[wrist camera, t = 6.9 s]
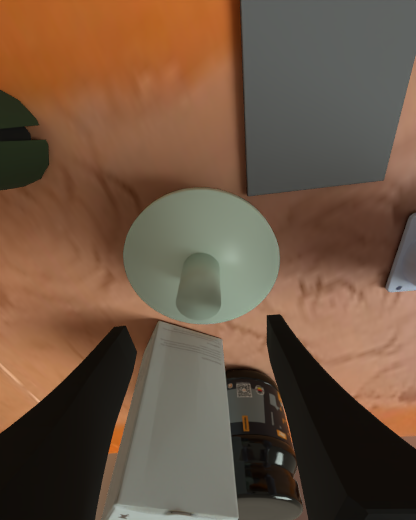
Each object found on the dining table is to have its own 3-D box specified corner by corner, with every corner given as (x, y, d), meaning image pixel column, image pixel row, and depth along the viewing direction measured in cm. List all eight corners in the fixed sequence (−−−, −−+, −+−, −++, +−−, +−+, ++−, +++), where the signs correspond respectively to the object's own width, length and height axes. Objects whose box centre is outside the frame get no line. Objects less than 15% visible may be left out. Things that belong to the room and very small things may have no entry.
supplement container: (264, 412, 35) (285, 531, 25) (196, 403, 34) (189, 523, 24) (289, 371, 30) (330, 501, 20) (210, 359, 29) (209, 489, 19)
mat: (438, -69, 12) (449, -78, 11) (378, 178, 18) (383, 180, 17) (238, -30, 12) (240, -37, 12) (247, 194, 18) (248, 196, 18)
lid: (285, 182, 14) (313, 205, 10) (270, 315, 20) (284, 362, 16) (109, 191, 14) (70, 216, 11) (143, 318, 20) (126, 365, 16)
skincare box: (144, 348, 28) (88, 535, 15) (159, 315, 25) (105, 511, 13) (207, 366, 30) (203, 549, 17) (228, 337, 27) (241, 531, 14)
